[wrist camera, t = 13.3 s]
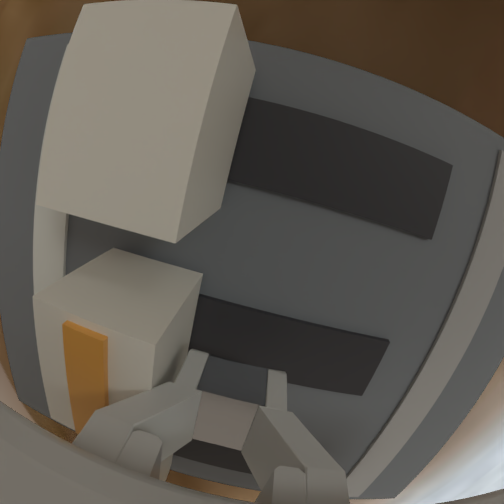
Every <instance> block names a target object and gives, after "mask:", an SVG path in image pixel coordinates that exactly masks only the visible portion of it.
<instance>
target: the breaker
mask: <svg viewBox="0 0 504 504" xmlns="http://www.w3.org/2000/svg"><path fill="white" fill-rule="evenodd" d="M255 71H256V69H255V65H254V62H253V58H252V55H251V51H250V47H249V44H248V40H247V37H246V33H245V30H244V26H243V23H242V20H241V16H240V13H239V9H238V6H237V5H236V4H227V3H218V2H207V1H192V0H125V1H110V2H99V3H90V4H84V5H83V8H82V10H81V12H80V15H79V17H78V20H77V22H76V25H75V28H74V30H73V33H72V36H71V39H70V42H69V45H68V48H67V51H66V54H65V57H64V60H63V63H62V66H61V70H60V73H59V77H58V80H57V84H56V88H55V92H54V96H53V100H52V104H51V109H50V113H49V118H48V123H47V128H46V133H45V138H44V144H43V150H42V157H41V164H40V171H39V179H38V189H37V199H36V205H39V206H43V207H46V208H50V209H53V210H57V211H60V212H64V213H67V214H71V215H74V216H78V217H81V218H85V219H88V220H92V221H96V222H99V223H103V224H106V225H110V226H113V227H117V228H121V229H124V230H128V231H131V232H135V233H139V234H142V235H146V236H150V237H153V238H157V239H161V240H164V241H168V242H172V243H175V244H176V243H177V242H178V241H179V240H181V239H182V238H183V237H184V236H186V235H187V234H188V233H190V232H191V231H192V230H193V229H195V228H196V227H197V226H198V225H200V224H201V223H202V222H203V221H205V220H206V219H207V218H209V217H210V216H211V215H212V214H214V213H215V212H216V211H218V210H219V209H220V208H221V204H222V200H223V196H224V192H225V187H226V183H227V179H228V175H229V171H230V167H231V163H232V159H233V155H234V151H235V147H236V143H237V139H238V135H239V131H240V127H241V123H242V119H243V116H244V112H245V108H246V104H247V101H248V97H249V93H250V90H251V86H252V82H253V79H254V75H255Z"/></svg>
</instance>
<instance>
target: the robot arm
mask: <svg viewBox="0 0 504 504" xmlns="http://www.w3.org/2000/svg"><path fill="white" fill-rule="evenodd" d="M192 439H196V440H200V441H204V442H208V443H212V444H217V445H221V446H224V447H228V448H232V449H236V450H240V451H241V453H242V455H243V457H244V459H245V461H246V463H247V465H248V467H249V469H250V470H251V472H252V474H253V476H254V478H255V480H256V482H257V484H258V486H259V487H260V489H261V493H260V494H259V496H258V497H257V499H256V501H255V502H248V501H242V500H237V499H231V498H227V497H222V496H217V495H213V494H209V493H204V492H200V491H196V490H193V489H189V488H185V487H182V486H178V485H175V484H172V483H168V482H165V481H162V480H159V475H160V464H161V461H163V460H164V459H166V458H167V457H169V456H170V455H172V454H173V453H174V452H176V451H177V450H179V449H180V448H182V447H183V446H184V445H186V444H187V443H189V442H190V441H191V440H192ZM0 504H350V502H349V494H348V487H347V480H346V474H345V471H344V470H343V469H342V467H341V466H340V465H339V464H338V463H337V462H336V461H335V460H334V459H333V458H332V457H331V455H330V454H329V453H328V452H327V451H326V450H325V449H324V448H323V447H322V445H321V444H320V443H319V442H318V441H317V440H316V439H315V438H314V436H313V435H312V434H311V433H310V432H309V431H308V430H307V428H306V427H305V426H304V425H303V424H302V423H301V421H300V420H299V419H298V418H297V417H296V416H295V414H294V413H293V412H289V411H287V374H286V372H284V371H279V370H273V369H266V368H261V367H257V366H253V365H248V364H245V363H241V362H238V361H234V360H231V359H227V358H223V357H220V356H217V355H213V354H209V353H206V352H203V351H199V350H196V349H191V350H190V351H189V353H188V355H187V357H186V359H185V361H184V363H183V365H182V367H181V370H180V372H179V374H178V376H177V378H176V380H175V382H174V383H172V382H166V383H164V384H162V385H159V386H157V387H154V388H152V390H151V391H150V390H147V391H144V392H142V393H139V394H137V395H134V396H132V397H129V398H127V399H124V400H122V401H119V402H116V403H114V404H111V405H108V406H106V407H103V408H100V409H97V410H95V412H94V413H93V414H92V416H91V417H90V419H89V420H88V422H87V423H86V425H85V426H84V427H83V429H82V430H81V432H80V433H79V435H78V436H77V438H76V439H75V441H74V442H73V444H71V443H69V442H67V441H66V440H64V439H62V438H60V437H58V436H56V435H54V434H52V433H51V432H49V431H47V430H45V429H43V428H42V427H40V426H38V425H37V424H35V423H33V422H32V421H30V420H28V419H27V418H25V417H23V416H22V415H20V414H19V413H17V412H16V411H14V410H13V409H11V408H9V407H8V406H7V405H5V404H4V403H2V402H1V401H0ZM437 504H504V489H501V490H497V491H494V492H490V493H486V494H482V495H478V496H474V497H469V498H465V499H460V500H455V501H449V502H444V503H437Z"/></svg>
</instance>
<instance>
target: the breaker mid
mask: <svg viewBox="0 0 504 504" xmlns="http://www.w3.org/2000/svg"><path fill="white" fill-rule="evenodd" d="M202 277H203V273H199V272H196V271H192V270H188V269H185V268H181V267H178V266H174V265H171V264H167V263H164V262H160V261H157V260H153V259H150V258H146V257H143V256H140V255H136V254H133V253H130V252H126V251H123V250H120V249H116V248H112V249H110V250H109V251H107V252H105V253H103V254H102V255H100V256H98V257H96V258H95V259H93V260H91V261H89V262H88V263H86V264H84V265H83V266H81V267H79V268H77V269H76V270H74V271H72V272H71V273H69V274H67V275H66V276H64V277H62V278H61V279H59V280H57V281H56V282H54V283H53V284H51V285H49V286H48V287H46V288H45V289H43V290H41V291H40V292H38V293H37V294H35V295H33V296H32V297H33V311H34V323H35V332H36V340H37V348H38V355H39V362H40V368H41V374H42V379H43V384H44V389H45V394H46V399H47V403H48V408H49V412H50V416H51V418H52V419H54V420H56V421H57V422H59V423H61V424H63V425H65V426H67V427H69V428H71V429H73V430H75V431H76V434H78V435H79V433H80V432H81V430H82V429H83V427H84V426H85V425H86V423H87V422H88V420H89V419H90V417H91V416H92V414H93V413H94V412H95V410H97V409H100V408H103V407H106V406H108V405H111V404H114V403H116V402H119V401H122V400H124V399H127V398H129V397H132V396H134V395H137V394H139V393H142V392H144V391H147V390H150V391H151V390H152V388H154V387H157V386H159V385H162V384H164V383H166V382H172V383H174V382H175V380H176V378H177V376H178V374H179V372H180V370H181V367H182V365H183V363H184V361H185V359H186V357H187V354H188V348H189V343H190V337H191V332H192V327H193V322H194V316H195V311H196V306H197V301H198V296H199V291H200V286H201V281H202Z"/></svg>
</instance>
